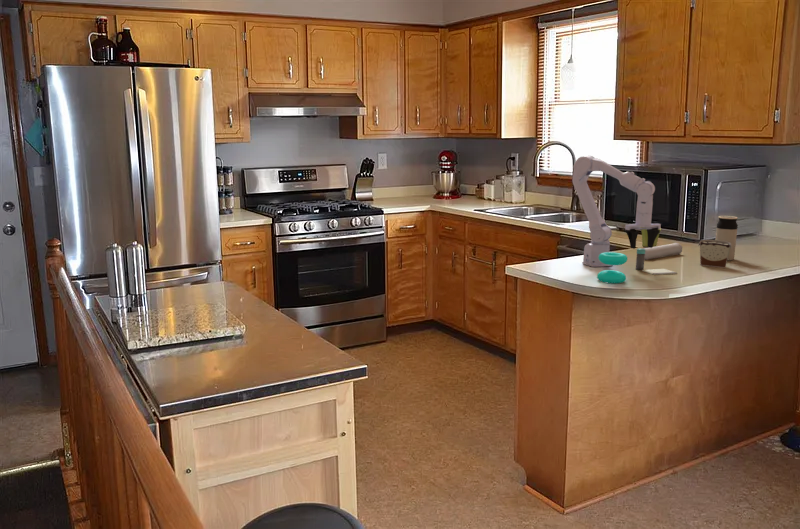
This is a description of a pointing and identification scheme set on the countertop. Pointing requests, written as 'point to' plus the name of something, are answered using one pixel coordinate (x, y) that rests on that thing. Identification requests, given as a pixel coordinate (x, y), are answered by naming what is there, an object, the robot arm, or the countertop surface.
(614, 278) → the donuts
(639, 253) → the marker
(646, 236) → the plant pot
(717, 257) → the food container
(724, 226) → the travel mug
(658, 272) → the notepad
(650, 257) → the tube
